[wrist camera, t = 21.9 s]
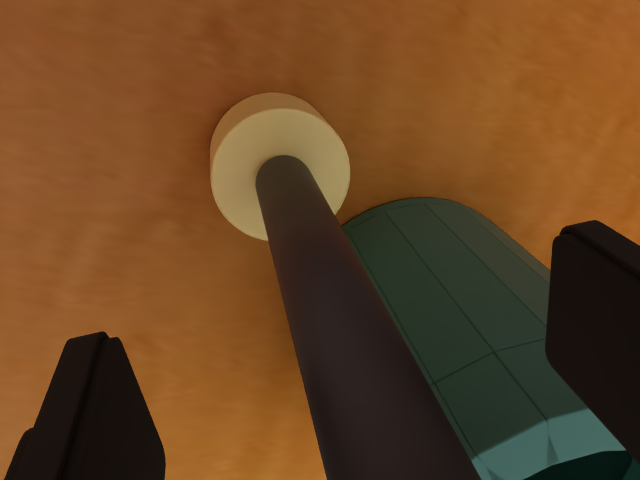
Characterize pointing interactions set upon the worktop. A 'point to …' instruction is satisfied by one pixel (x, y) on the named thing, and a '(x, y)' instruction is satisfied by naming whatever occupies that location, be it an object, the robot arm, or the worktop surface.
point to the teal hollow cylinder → (483, 340)
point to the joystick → (330, 296)
